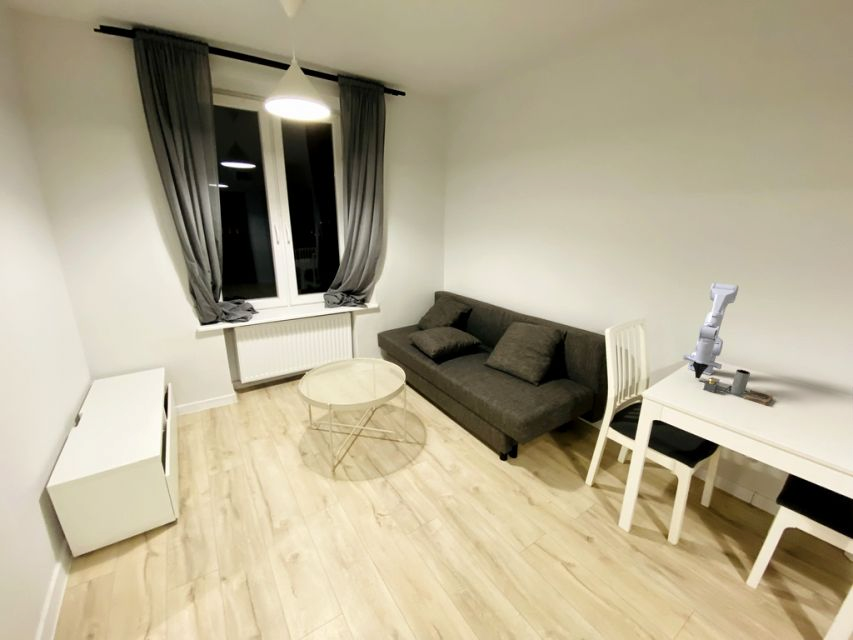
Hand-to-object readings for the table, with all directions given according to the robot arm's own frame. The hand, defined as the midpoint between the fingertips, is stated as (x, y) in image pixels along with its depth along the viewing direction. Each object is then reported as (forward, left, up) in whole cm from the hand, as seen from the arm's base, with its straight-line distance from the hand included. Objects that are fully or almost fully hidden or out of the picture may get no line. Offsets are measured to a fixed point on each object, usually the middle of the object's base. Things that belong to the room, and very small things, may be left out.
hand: (697, 377), depth 167 cm
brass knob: (+7, -7, -1) cm, 10 cm away
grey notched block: (+8, 0, -2) cm, 8 cm away
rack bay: (+22, 0, -1) cm, 22 cm away
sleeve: (+11, 0, -1) cm, 11 cm away
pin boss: (+7, -7, -1) cm, 10 cm away
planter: (+15, 0, -2) cm, 15 cm away
